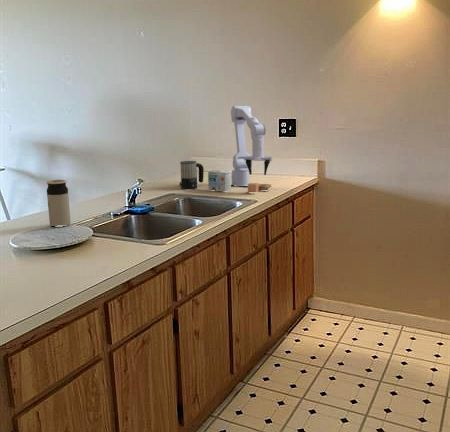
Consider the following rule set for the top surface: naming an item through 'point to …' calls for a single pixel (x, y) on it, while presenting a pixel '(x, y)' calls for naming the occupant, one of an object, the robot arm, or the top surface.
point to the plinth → (264, 186)
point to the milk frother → (190, 174)
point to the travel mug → (58, 203)
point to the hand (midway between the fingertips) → (257, 174)
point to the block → (253, 187)
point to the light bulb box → (219, 180)
